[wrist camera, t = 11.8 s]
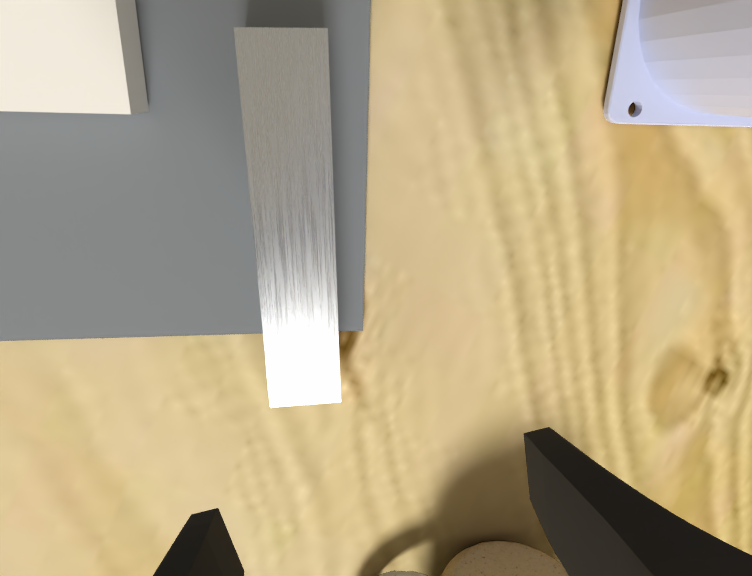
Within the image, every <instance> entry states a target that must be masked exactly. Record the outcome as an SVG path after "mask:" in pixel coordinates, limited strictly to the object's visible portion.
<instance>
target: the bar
mask: <svg viewBox="0 0 752 576" xmlns="http://www.w3.org/2000/svg"><path fill="white" fill-rule="evenodd" d="M234 36H235V47H236V57H237V67H238V78H239V88H240V99H241V109H242V120H243V130H244V141H245V151H246V161H247V172H248V182H249V193H250V203H251V214H252V224H253V235H254V245H255V255H256V266H257V276H258V287H259V297H260V308H261V318H262V329H263V339H264V349H265V360H266V370H267V381H268V391H269V402H270V407H282V406H295V405H308V404H321V403H335V402H341V390H340V361H339V333H338V304H337V276H336V247H335V219H334V190H333V162H332V134H331V105H330V77H329V48H328V28H269V27H234Z"/></svg>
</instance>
